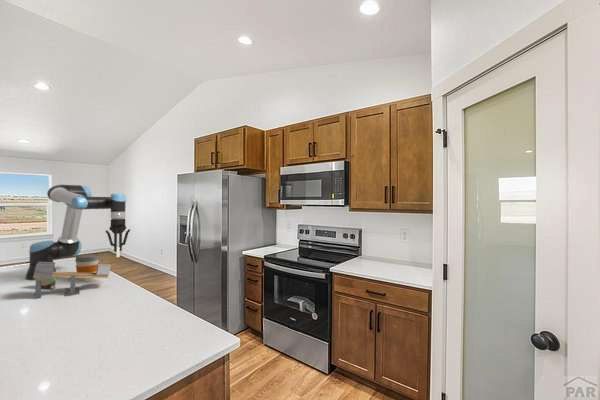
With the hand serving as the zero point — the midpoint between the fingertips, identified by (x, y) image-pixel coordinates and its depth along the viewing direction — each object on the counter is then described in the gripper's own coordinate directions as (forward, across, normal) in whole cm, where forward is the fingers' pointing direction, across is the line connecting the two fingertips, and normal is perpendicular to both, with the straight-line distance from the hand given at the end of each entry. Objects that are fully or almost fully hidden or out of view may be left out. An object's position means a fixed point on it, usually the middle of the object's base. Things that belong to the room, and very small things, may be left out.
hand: (117, 256), depth 165 cm
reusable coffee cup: (+17, -14, +28) cm, 36 cm away
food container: (+17, -32, +18) cm, 41 cm away
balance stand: (+17, -27, 0) cm, 32 cm away
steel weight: (+10, -8, 0) cm, 13 cm away
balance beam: (+8, -21, 0) cm, 23 cm away
